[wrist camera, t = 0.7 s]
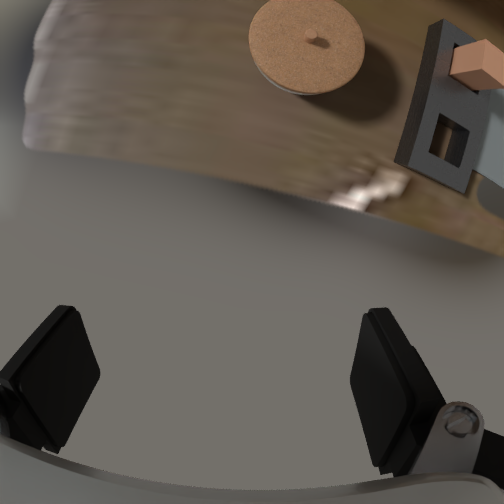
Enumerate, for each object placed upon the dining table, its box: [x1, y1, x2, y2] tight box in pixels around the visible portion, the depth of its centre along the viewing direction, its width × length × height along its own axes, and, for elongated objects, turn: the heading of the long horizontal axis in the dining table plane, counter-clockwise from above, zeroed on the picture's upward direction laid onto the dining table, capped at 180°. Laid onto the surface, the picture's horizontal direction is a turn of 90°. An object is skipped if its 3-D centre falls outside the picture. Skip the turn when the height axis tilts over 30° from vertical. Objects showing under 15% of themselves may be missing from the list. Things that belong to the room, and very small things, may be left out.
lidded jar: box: [249, 0, 365, 95], centre depth 26 cm, size 11×11×9 cm
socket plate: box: [394, 19, 491, 194], centre depth 29 cm, size 20×9×4 cm, turn 164°
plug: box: [448, 39, 504, 91], centre depth 24 cm, size 4×4×10 cm
